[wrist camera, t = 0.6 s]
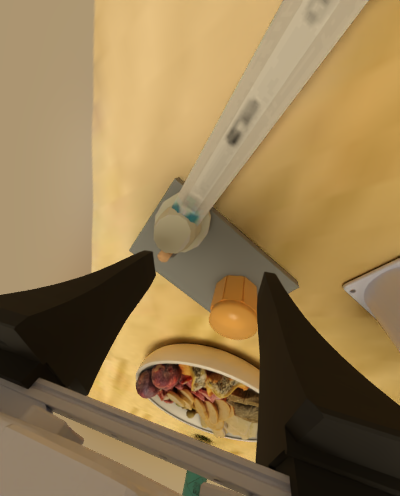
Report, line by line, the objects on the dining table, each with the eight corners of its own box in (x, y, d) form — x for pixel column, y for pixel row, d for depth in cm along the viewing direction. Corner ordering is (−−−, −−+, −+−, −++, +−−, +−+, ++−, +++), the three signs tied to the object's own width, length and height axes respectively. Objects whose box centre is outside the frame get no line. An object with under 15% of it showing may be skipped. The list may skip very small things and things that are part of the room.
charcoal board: (297, 281, 21) (306, 311, 17) (228, 320, 27) (224, 348, 24) (178, 177, 18) (159, 185, 15) (133, 246, 25) (111, 265, 21)
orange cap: (265, 293, 22) (268, 329, 18) (236, 310, 24) (233, 344, 20) (235, 268, 21) (231, 299, 17) (209, 288, 24) (200, 319, 20)
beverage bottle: (210, 444, 62) (194, 554, 45) (192, 436, 63) (170, 542, 46) (214, 439, 58) (199, 558, 42) (195, 431, 59) (172, 544, 42)
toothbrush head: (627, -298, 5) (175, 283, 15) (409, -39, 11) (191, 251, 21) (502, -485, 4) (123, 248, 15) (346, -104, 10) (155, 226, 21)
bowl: (321, 384, 30) (340, 451, 23) (243, 423, 47) (241, 469, 40) (160, 311, 31) (136, 356, 25) (140, 375, 48) (122, 411, 41)
